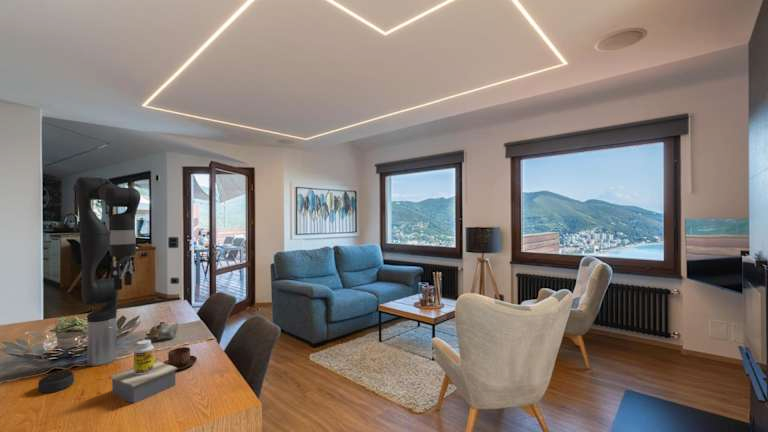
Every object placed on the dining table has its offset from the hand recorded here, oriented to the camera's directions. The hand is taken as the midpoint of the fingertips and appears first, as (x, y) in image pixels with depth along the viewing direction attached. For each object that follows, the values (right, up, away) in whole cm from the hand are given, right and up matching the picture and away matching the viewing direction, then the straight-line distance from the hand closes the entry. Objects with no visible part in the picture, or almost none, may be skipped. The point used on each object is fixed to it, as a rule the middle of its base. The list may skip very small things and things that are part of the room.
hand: (123, 287), depth 125 cm
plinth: (+13, -33, -8) cm, 36 cm away
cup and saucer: (+14, -33, +10) cm, 38 cm away
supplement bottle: (+13, -27, -8) cm, 31 cm away
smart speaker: (-19, -34, -6) cm, 39 cm away
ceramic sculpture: (-12, -33, +39) cm, 53 cm away
